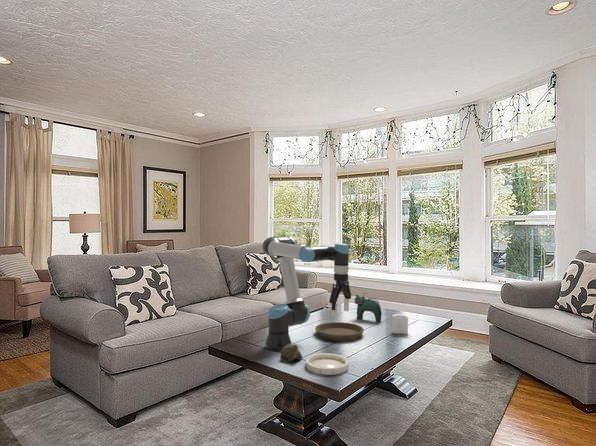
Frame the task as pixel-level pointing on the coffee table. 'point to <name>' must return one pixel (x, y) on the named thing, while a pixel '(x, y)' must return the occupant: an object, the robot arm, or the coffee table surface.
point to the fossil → (290, 353)
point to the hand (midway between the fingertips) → (340, 313)
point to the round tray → (327, 364)
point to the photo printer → (400, 324)
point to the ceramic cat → (368, 307)
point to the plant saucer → (339, 331)
